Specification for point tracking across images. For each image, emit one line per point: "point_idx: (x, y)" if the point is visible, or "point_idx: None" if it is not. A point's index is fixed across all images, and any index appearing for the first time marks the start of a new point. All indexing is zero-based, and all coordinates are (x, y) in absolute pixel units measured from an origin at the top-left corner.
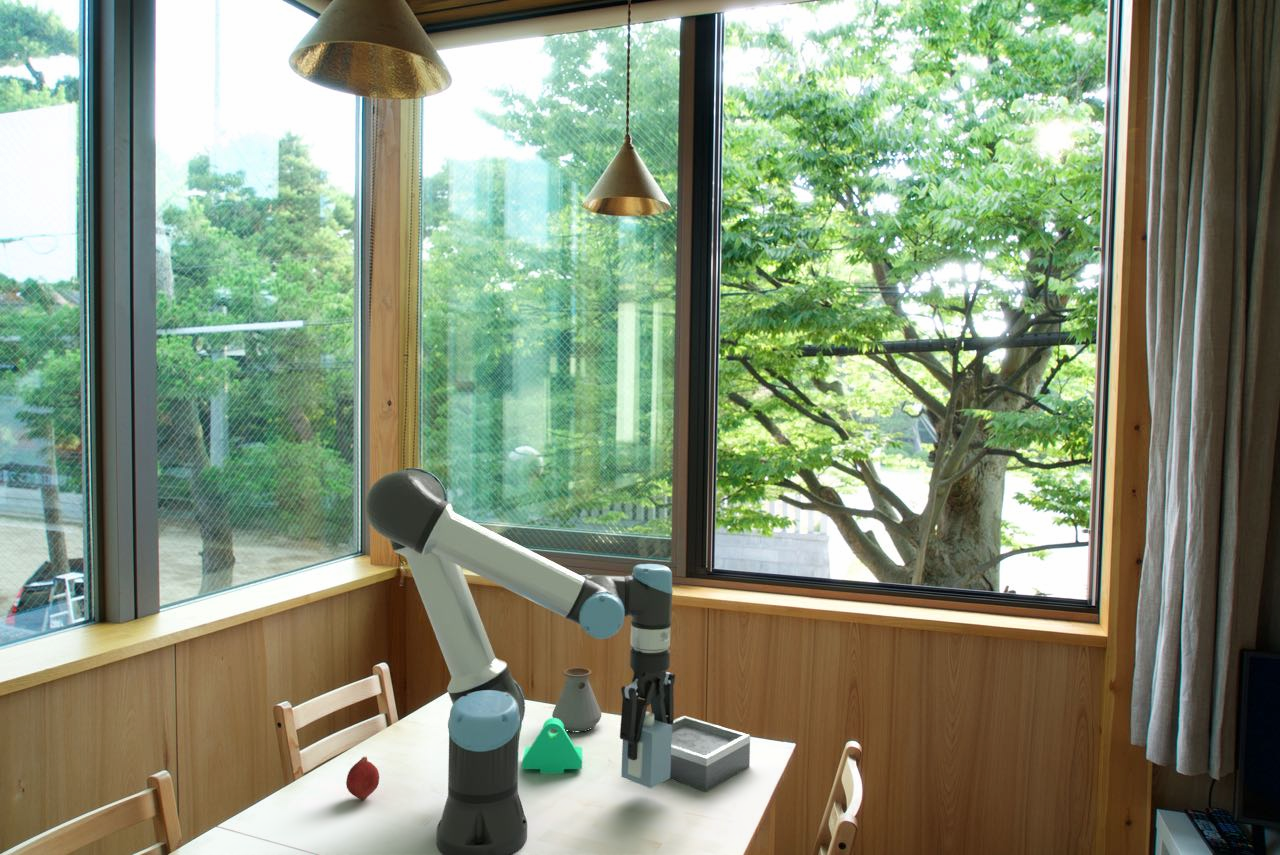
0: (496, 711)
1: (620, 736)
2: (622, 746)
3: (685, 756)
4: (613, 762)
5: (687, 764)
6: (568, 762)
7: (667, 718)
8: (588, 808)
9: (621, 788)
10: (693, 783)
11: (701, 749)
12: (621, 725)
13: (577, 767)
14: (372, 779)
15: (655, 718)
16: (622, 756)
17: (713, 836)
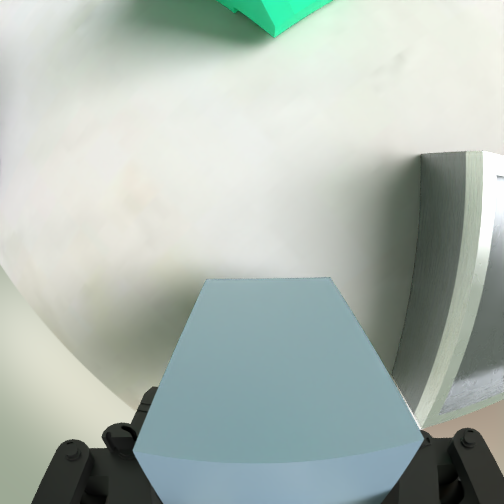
0: None
1: (59, 451)
2: (176, 345)
3: (439, 362)
4: (398, 74)
5: (426, 358)
6: (242, 3)
7: (447, 479)
8: (120, 223)
9: (279, 205)
10: (403, 350)
11: (499, 338)
12: (40, 495)
13: (264, 27)
14: None
15: (390, 502)
16: (189, 318)
17: None
